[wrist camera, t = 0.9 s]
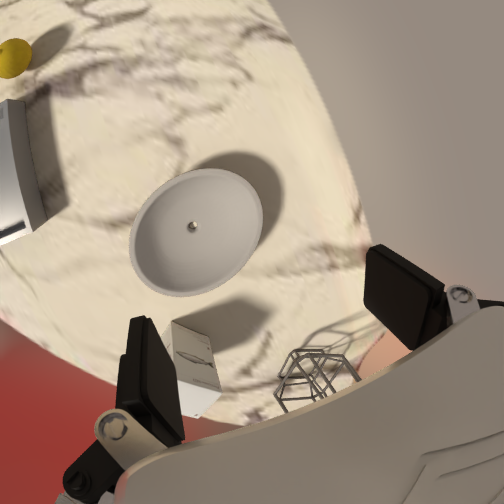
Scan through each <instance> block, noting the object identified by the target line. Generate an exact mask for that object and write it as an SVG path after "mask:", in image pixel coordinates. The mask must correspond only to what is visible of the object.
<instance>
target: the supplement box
mask: <svg viewBox="0 0 504 504" xmlns="http://www.w3.org/2000/svg"><path fill="white" fill-rule="evenodd" d="M161 340H162V342H163V344H164V346H165V348H166V350H167V352H168V353H169V355H170V357H171V359H172V361H173V363H174V365H175V368H176V373H177V382H178V391H179V399H180V407H181V414H182V415H185V416H189V417H193V418H199V417H200V416H201V415H202V414H203V413H204V412H205V411H206V410H207V409H208V408H209V407H210V406H211V405H212V404H213V403H214V402H215V401H216V400H217V399H218V398H219V397H220V396H221V395H222V389H221V385H220V381H219V377H218V374H217V369H216V365H215V361H214V357H213V353H212V348H211V344H210V340H209V337H208V336H205V335H202V334H199V333H197V332H194V331H192V330H190V329H187V328H185V327H183V326H181V325H178V324H176V323H174V322H172V321H171V322H170V324H169V325H168V327H167V328H166V330H165V331H164V333H163V334H162V336H161Z"/></svg>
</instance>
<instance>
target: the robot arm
mask: <svg viewBox="0 0 504 504" xmlns="http://www.w3.org/2000/svg"><path fill="white" fill-rule="evenodd" d="M444 286H445V284H443V283H442V282H440V281H439V280H437V279H436V278H434V277H433V276H431V275H430V274H428V273H427V272H425V271H424V270H422V269H421V268H419V267H418V266H416V265H414V264H413V263H411V262H410V261H408V260H407V259H405V258H404V257H402V256H400V255H399V254H397V253H395V252H394V251H392V250H391V249H389V248H387V247H386V246H384V245H382V244H379V245H376V246H373V247H370V248H369V250H368V252H367V253H366V269H365V286H364V305H365V307H366V308H367V309H368V310H369V311H370V312H371V313H372V314H373V315H374V316H375V317H376V318H377V319H378V320H380V321H381V322H382V323H383V324H384V325H385V326H386V327H387V328H388V329H389V330H390V331H391V332H392V333H393V334H394V335H395V336H396V337H397V338H398V339H399V340H400V341H401V342H402V343H403V344H404V345H405V346H406V347H407V348H408V349H409V350H413V351H412V352H411V353H409V354H408V355H406V356H404V357H403V358H401V359H399V360H398V361H396V362H394V363H393V364H391V365H389V366H387V367H386V368H384V369H382V370H380V371H378V372H376V373H375V374H373V375H371V376H369V377H367V378H365V379H363V380H361V381H359V382H357V383H355V384H353V385H351V386H349V387H347V388H345V389H343V390H341V391H339V392H337V393H334V394H332V395H330V396H328V397H325V398H323V399H321V400H318V401H316V402H314V403H311V404H309V405H306V406H304V407H301V408H299V409H296V410H294V411H291V412H288V413H286V414H283V415H280V416H277V417H275V418H272V419H269V420H266V421H263V422H259V423H256V424H253V425H250V426H247V427H243V428H240V429H237V430H233V431H230V432H226V433H223V434H219V435H215V436H211V437H208V438H203V439H199V440H196V441H192V442H188V443H184V444H182V443H181V441H183V440H185V434H184V427H183V421H182V414H181V407H180V399H179V391H178V382H177V373H176V368H175V365H174V363H173V361H172V359H171V357H170V355H169V353H168V352H167V350H166V348H165V346H164V344H163V342H162V340H161V338H160V336H159V334H158V332H157V330H156V328H155V326H154V323H153V321H152V319H151V318H146V317H145V316H144V315H143V316H139V317H135V318H131V319H130V325H129V332H128V339H127V348H126V354H123V355H121V357H120V363H119V372H118V381H117V392H116V406H115V409H111V410H108V411H106V412H105V413H103V414H102V415H101V416H100V417H99V418H98V419H97V422H96V423H95V429H94V430H95V435H96V437H97V440H96V441H95V442H94V443H93V444H92V445H91V446H90V447H89V448H88V449H87V450H86V451H85V452H84V453H83V454H82V455H81V456H80V457H79V458H78V459H77V460H76V461H75V462H74V463H73V464H72V465H71V466H70V467H69V468H68V469H67V470H66V471H65V473H64V476H63V486H64V489H65V492H64V494H61V493H60V494H59V496H58V498H57V500H56V502H55V504H504V302H502V301H491V300H479V299H477V298H476V296H475V294H474V292H473V291H472V290H471V289H469V288H468V287H465V286H463V285H453V286H450V287H449V288H448V289H447V292H444Z"/></svg>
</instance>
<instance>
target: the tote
mask: <svg viewBox="0 0 504 504" xmlns="http://www.w3.org/2000/svg"><path fill="white" fill-rule="evenodd" d="M46 221H48V220H47V216H46V213H45V210H44V206H43V203H42V199H41V195H40V191H39V187H38V183H37V179H36V175H35V170H34V165H33V160H32V155H31V149H30V143H29V136H28V129H27V120H26V110H25V102H22V101H17V100H11V99H6V100H5V101H3V102H1V103H0V245H3V244H5V243H7V242H10V241H12V240H14V239H17V238H19V237H22V236H24V235H27V234H29V233H32V232H34V231H35V230H36V229H37V228H39V227H40V226H41V225H42V224H44V223H45V222H46Z"/></svg>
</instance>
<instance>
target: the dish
mask: <svg viewBox="0 0 504 504" xmlns="http://www.w3.org/2000/svg"><path fill="white" fill-rule="evenodd" d="M190 222H196V223H197V227H196V228H195V229H190V228H189V223H190ZM262 226H263V210H262V205H261V201H260V198H259V196H258V194H257V192H256V190H255V189H254V188H253V186H252V185H251V184H250V183H249V182H248V181H247V180H246V179H244V178H243V177H241V176H240V175H238V174H236V173H234V172H231V171H228V170H224V169H218V168H204V169H197V170H192V171H189V172H186V173H183V174H181V175H178V176H176V177H174V178H173V179H171V180H169V181H168V182H166V183H165V184H163V185H162V186H161V187H159V188H158V189H157V190H156V191H155V192H154V193H153V194H152V195H151V196H150V197H149V198H148V199H147V200H146V202H145V203H144V204H143V206H142V207H141V209H140V210H139V212H138V214H137V216H136V218H135V220H134V223H133V225H132V229H131V233H130V238H129V254H130V260H131V263H132V266H133V269H134V271H135V272H136V274H137V276H138V277H139V278H140V280H141V281H142V282H143V283H144V284H145V285H146V286H148V287H149V288H150V289H152V290H154V291H156V292H158V293H160V294H163V295H167V296H173V297H189V296H195V295H199V294H203V293H205V292H208V291H211V290H213V289H215V288H217V287H219V286H220V285H222V284H224V283H225V282H227V281H228V280H229V279H231V278H232V277H233V276H234V275H235V274H236V273H237V272H239V271H240V270H241V268H242V267H243V266H244V265H245V264H246V263H247V261H248V260H249V258H250V257H251V255H252V254H253V252H254V250H255V248H256V246H257V244H258V242H259V239H260V236H261V232H262Z"/></svg>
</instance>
